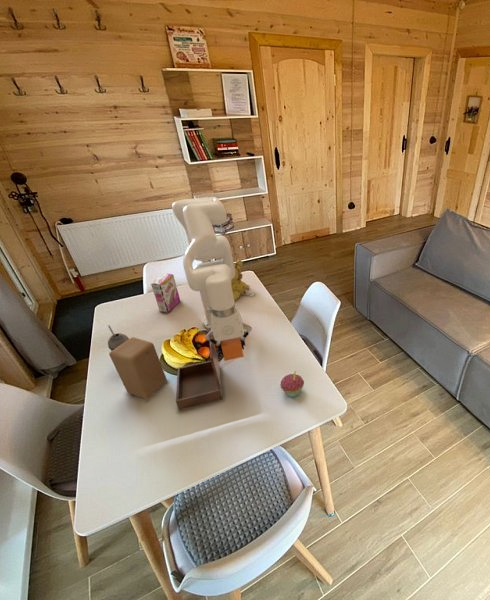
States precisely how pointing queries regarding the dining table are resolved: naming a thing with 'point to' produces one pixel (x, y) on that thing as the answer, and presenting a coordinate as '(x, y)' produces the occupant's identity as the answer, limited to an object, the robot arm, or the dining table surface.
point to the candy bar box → (166, 292)
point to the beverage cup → (116, 340)
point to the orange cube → (232, 348)
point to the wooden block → (138, 367)
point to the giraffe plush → (238, 282)
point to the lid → (215, 362)
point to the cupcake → (292, 384)
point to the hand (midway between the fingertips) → (232, 348)
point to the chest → (196, 385)
